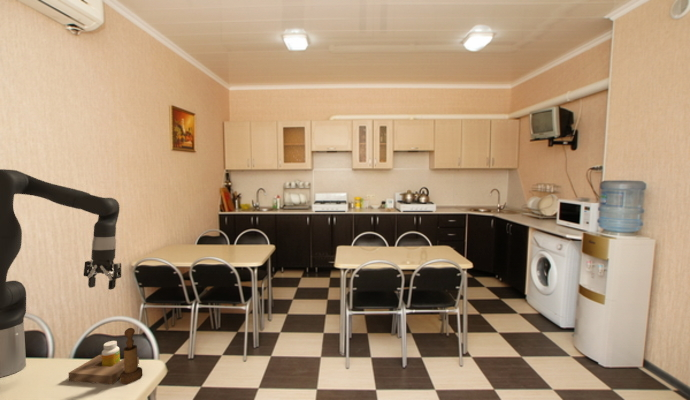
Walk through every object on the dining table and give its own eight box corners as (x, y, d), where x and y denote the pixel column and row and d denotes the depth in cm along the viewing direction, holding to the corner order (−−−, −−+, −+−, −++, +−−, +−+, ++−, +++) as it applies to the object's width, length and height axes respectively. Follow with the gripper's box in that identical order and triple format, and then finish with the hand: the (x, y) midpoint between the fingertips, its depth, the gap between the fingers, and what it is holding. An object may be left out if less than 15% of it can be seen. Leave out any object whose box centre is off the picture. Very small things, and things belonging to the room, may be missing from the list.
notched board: (68, 381, 110) (68, 372, 110) (99, 362, 122) (99, 354, 122) (111, 384, 108) (111, 375, 108) (139, 364, 120) (138, 357, 120)
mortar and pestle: (131, 385, 107) (128, 333, 107) (115, 383, 109) (113, 332, 108) (146, 373, 114) (144, 325, 113) (131, 372, 115) (129, 323, 115)
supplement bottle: (118, 370, 116) (117, 344, 116) (100, 374, 114) (99, 348, 114) (121, 363, 121) (120, 338, 121) (104, 366, 119) (103, 341, 119)
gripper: (78, 247, 122) (76, 289, 122) (112, 250, 120) (110, 292, 120) (96, 245, 129) (94, 284, 129) (127, 247, 128) (125, 287, 128)
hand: (101, 288), depth 125 cm, fingers open, 8 cm apart
